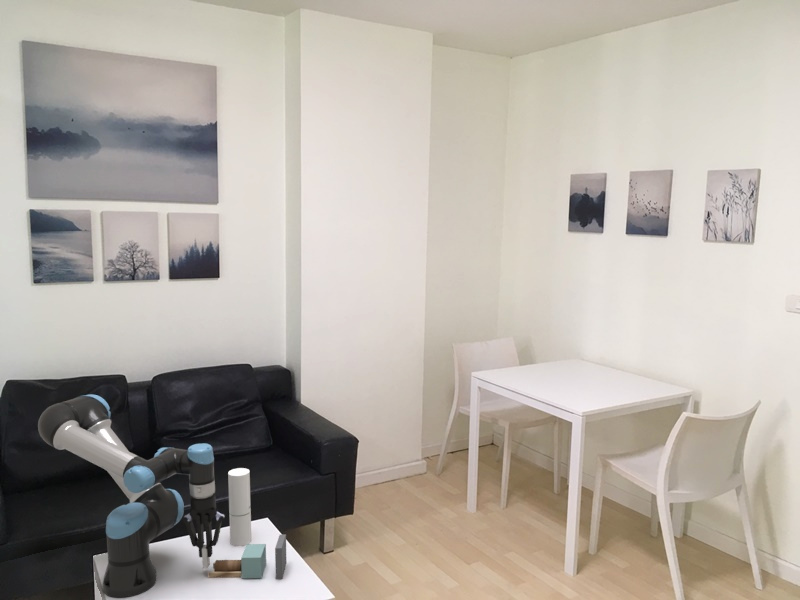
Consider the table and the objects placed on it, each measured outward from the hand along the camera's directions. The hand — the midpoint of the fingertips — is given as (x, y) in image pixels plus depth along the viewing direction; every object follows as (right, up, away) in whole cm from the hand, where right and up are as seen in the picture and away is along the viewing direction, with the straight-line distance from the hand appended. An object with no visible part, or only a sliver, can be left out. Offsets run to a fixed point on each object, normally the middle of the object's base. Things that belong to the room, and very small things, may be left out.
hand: (206, 566), depth 203 cm
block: (+15, -2, +1) cm, 15 cm away
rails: (+6, -2, +1) cm, 7 cm away
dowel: (+7, -2, +1) cm, 7 cm away
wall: (+23, -2, +1) cm, 24 cm away
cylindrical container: (+6, 0, +21) cm, 21 cm away
